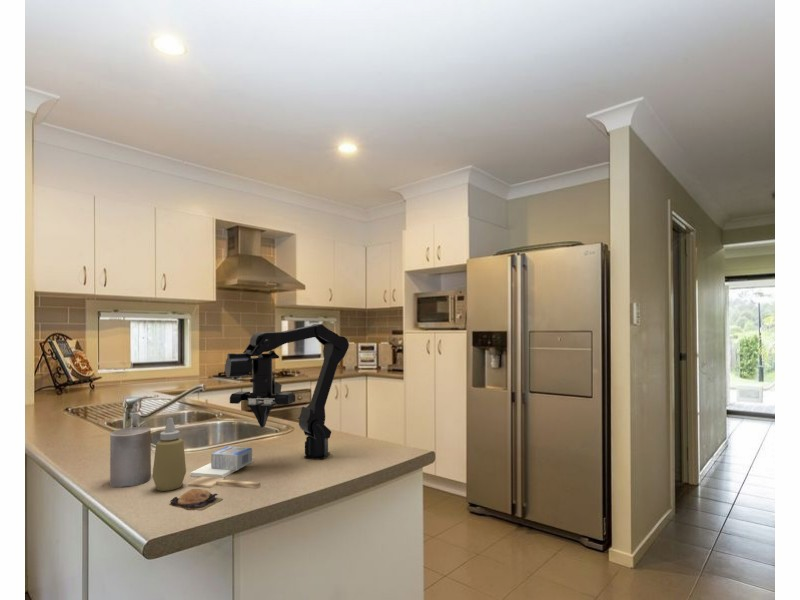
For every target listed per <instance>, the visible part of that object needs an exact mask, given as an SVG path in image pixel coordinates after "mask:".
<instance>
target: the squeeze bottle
mask: <svg viewBox="0 0 800 600" xmlns="http://www.w3.org/2000/svg"><path fill="white" fill-rule="evenodd" d="M175 426H176V425H175V423H174V418H173V417H167V419H166V424H165V429H164V431H161V432H160V434H159V435H160V436H159V440H158V441H157V442H156V443H155V449H154V451H155V452H154V459H153V467H152V474H151V478H152V480H153V482H154V485H155V488H156V490H157V491H163V492H164V491H166V492H167V491H172V490H176V489H179V488H181V487H182V485H183V483H184V480H185V476H186V473H187V467H186V466H187V465H186V456H185V446H184V440H183V439H182V438H180V437H181V435H180V430H178V429H176V427H175Z"/></svg>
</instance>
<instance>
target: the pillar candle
mask: <svg viewBox="0 0 800 600" xmlns="http://www.w3.org/2000/svg"><path fill="white" fill-rule="evenodd" d="M151 435H152V433H151V427H148V426H135V427H133V425H131V426H130V427H124V428H120V429H117V430H113V431H112V432H110V435H109V438H110V441H109V443H110V444H109V445H110V446H109V447H110V448H109V451H110V453H109V454H110V457H109V458H110V461H109V465H110V467H109V468H110V469H109V473H110V474H109V477H110V479H109V480H110V481H109V483H110V486H111V487H113V488H124V487H134V486H139V485H142V484H144V483H147V482H148V481H150V480H151V478H152V459H151V458H152V447H151V446H152V445H151V444H152V443H151V441H152V439H151V438H152V436H151Z"/></svg>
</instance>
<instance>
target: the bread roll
mask: <svg viewBox="0 0 800 600" xmlns="http://www.w3.org/2000/svg"><path fill="white" fill-rule="evenodd" d="M216 496H218V494H217V493H212V492H211V491H208V490H206V489H202V488H192V489H190V490H188V491H186V492H185V493H183V494H182V495H180V497H178V496H174V497H173V498H172V499H171V500H170V503H169V504H168V506H171V507H175V508H181V509H184V510H189V511H190V510H192V511H200V512H201V511H204V510H206V509H208V508H210V507H212V506H213V505H216V504H217V503H220V502H221V501H223V500H224V499H223V498H221V497H216Z"/></svg>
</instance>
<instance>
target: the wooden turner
mask: <svg viewBox="0 0 800 600" xmlns="http://www.w3.org/2000/svg"><path fill="white" fill-rule="evenodd" d="M215 486H220V487H221V486H223V487H236V488H248V489H249V488H250V489H259V488H260V487H261V481H260V482H259V481H248V480H247V481H246V480H233V479H226V477H224V478H216V477H197V479H195V480H192V481H191V482H189V483H187V487H195V488H196V487H197V488H206V489H207V488H208V489H212V488H214V487H215Z"/></svg>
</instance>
